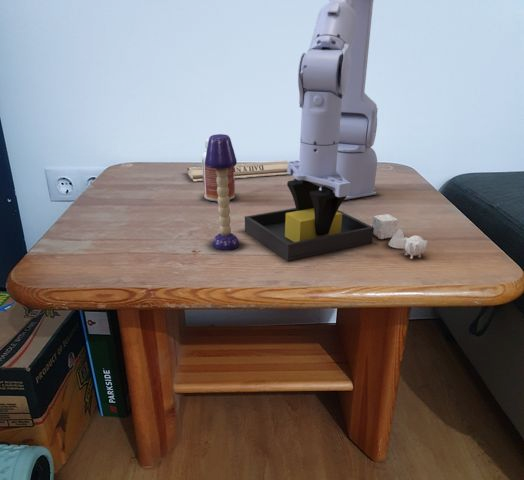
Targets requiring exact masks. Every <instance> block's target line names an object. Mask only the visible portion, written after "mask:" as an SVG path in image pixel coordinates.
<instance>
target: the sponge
mask: <svg viewBox="0 0 524 480" xmlns="http://www.w3.org/2000/svg"><path fill="white" fill-rule="evenodd" d="M341 224H342V213H340V212H338V211H337V212H336V214H335V217H334V219H333V222H332V225H331V228H330V231H329V233H328V234H325V235H320V236H318V235H316V232H315V213H314V208H312V209H306V210H300V211H295V212H289V213H286V221H285V237H286V238H288V239H290V240H291V241H293V242H298V241H303V240H308V239H313V238H318V237H323V236H328V235H333V234H338V233H341Z"/></svg>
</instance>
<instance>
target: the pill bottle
mask: <svg viewBox="0 0 524 480" xmlns="http://www.w3.org/2000/svg"><path fill="white" fill-rule="evenodd" d="M209 138H210V137H208V138H205V140H204V144H205V145H204V146H205V149H207V147H208V141H209ZM206 153H207V150H205V151H204V152H203V153H202V155H201V164H202V166H201V167H203V181H202V183H203V184H202V185H203V197H204V198H205V199H206V200H207V201H210V202H216V203H218V194H217V187H218V185H217V182H216V179H217V174H216V169H213V168H209V167H207V166H206V164H205V159H206ZM227 177H228V185H227V186H228V189H229V194H228V197H229V201H231V200H233V199H234V198H235V197H236V188H235V187H236V180H235V179H236V178H234V166H233V167H231V168H228V174H227Z"/></svg>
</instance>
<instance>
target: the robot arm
mask: <svg viewBox="0 0 524 480" xmlns="http://www.w3.org/2000/svg"><path fill="white" fill-rule="evenodd" d="M374 2H375V1H374V0H328V2H327V3H325V4H324V5H323V6H321V8H320V9H319V11H318V14H317V18H316V21H315V25H314V30H313V32H312V37H311V40H310V45H309V48H308V50H307V51H306V52H303V53H302V54H301V56H300V58H299V62H298V70H297V84H298V85H297V86H298V93H299V94H298V95H299V97H298V98H299V99H298V103H299V108H301V119H300V138H299V139H300V141H299V158H298V159H299V160H291V161H288V165H287V174H286V175H290V176H292V178H293V180H288V181H287V182H286V183H287V188H288V190H289V191H290V194H291V196H292V200H293V203H294V206H295V208H296V211H300V210H306V209H312V208H314V213H315V232H316V235H318V236H320V235H325V234H328V233H329V231H330V228H331V225H332V222H333V219H334V217H335V214H336V212H337V210H339V208H340V206H341V205H342V204H343V202H344V201H346V200H351V199H352V200H353V199H358V198H363V197H369V196H375V195H377V192H376V191H375V183H376V176H377V170H378V169H377V167H378V158H377V153H376V150H374V148H372V147H373V146H374V145H375V141H376V136H377V129H378V109H379V107H377V106H378V105H377V103H376V102H375V101H374V100H372V99H371V98H370V96H369V95H367V93H366V92H365V91H366V79H367V70H368V60H369V49H370V41H371V27H372V20H373V19H372V18H373V10H374V8H373V7H374Z"/></svg>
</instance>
